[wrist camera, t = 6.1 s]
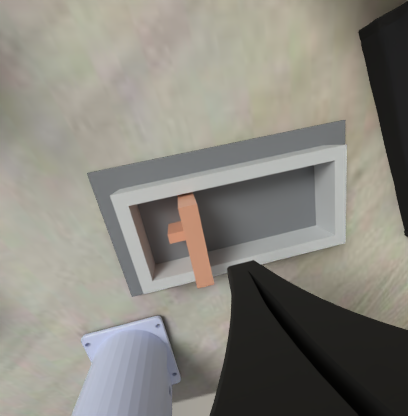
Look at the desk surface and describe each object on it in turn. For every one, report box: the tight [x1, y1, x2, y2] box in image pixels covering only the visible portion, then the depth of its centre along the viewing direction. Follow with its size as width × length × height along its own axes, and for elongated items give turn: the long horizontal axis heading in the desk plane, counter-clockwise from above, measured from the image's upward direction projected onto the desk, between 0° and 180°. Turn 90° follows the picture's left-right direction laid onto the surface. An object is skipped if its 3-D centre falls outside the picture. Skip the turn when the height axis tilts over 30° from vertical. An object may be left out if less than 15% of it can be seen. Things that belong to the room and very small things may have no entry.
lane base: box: [87, 120, 347, 297], centre depth 18 cm, size 12×22×3 cm, turn 101°
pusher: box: [167, 192, 214, 288], centre depth 16 cm, size 6×3×5 cm, turn 11°
